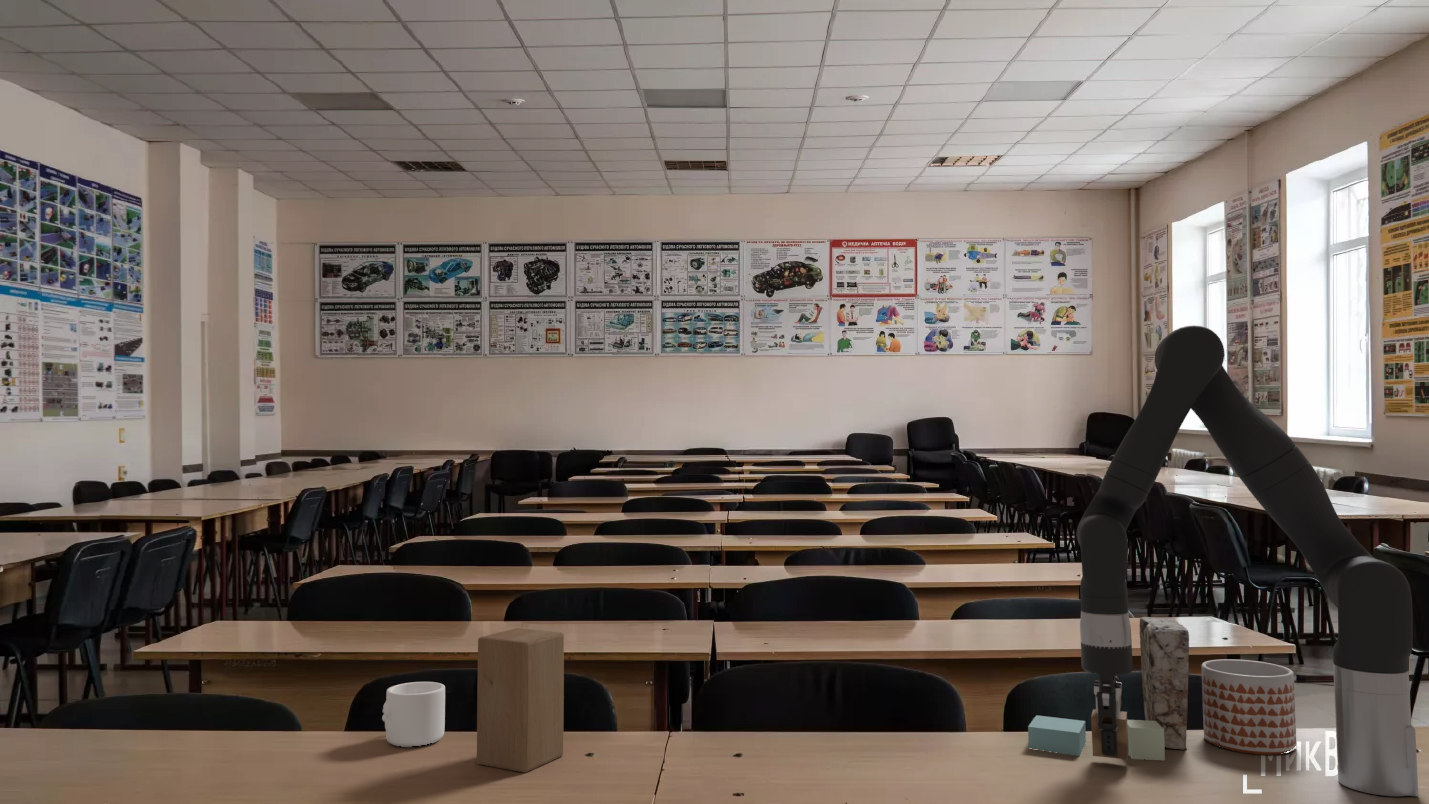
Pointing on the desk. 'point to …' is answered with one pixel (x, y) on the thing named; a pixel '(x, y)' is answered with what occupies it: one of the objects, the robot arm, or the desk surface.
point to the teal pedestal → (1057, 735)
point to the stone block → (1165, 677)
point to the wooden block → (520, 699)
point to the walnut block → (1121, 735)
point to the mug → (414, 713)
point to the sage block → (1145, 740)
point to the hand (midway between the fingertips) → (1110, 749)
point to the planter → (1249, 706)
